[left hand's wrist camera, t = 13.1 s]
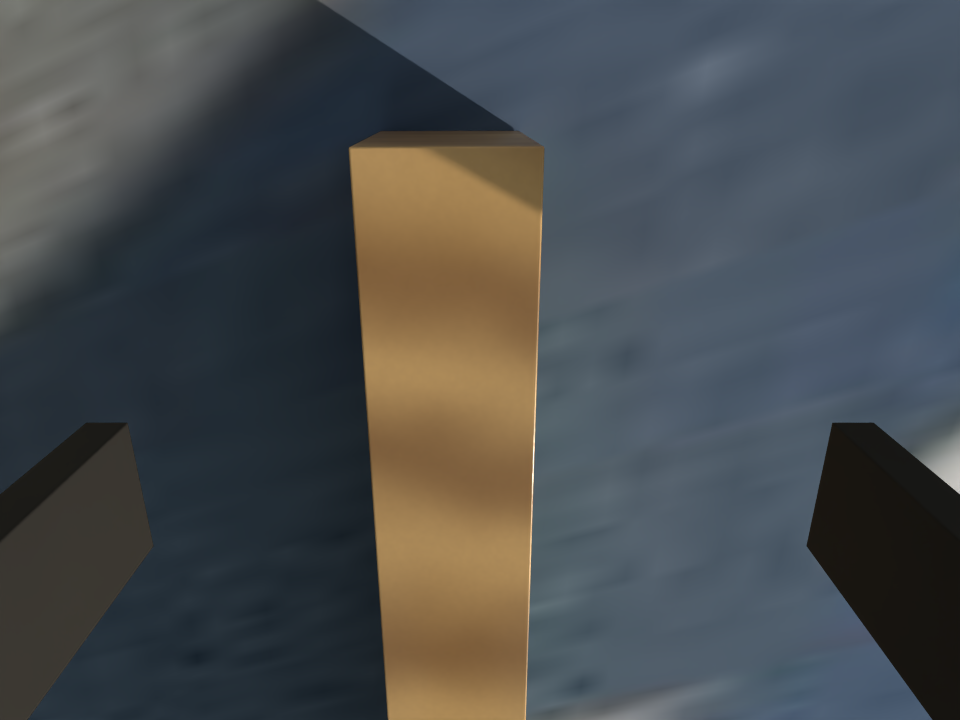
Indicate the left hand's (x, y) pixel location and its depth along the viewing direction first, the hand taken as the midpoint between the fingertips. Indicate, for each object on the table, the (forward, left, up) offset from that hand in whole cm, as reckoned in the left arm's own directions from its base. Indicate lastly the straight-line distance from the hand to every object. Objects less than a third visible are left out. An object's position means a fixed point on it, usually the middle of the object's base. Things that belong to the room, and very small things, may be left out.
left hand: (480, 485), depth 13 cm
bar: (+8, +22, -15) cm, 27 cm away
